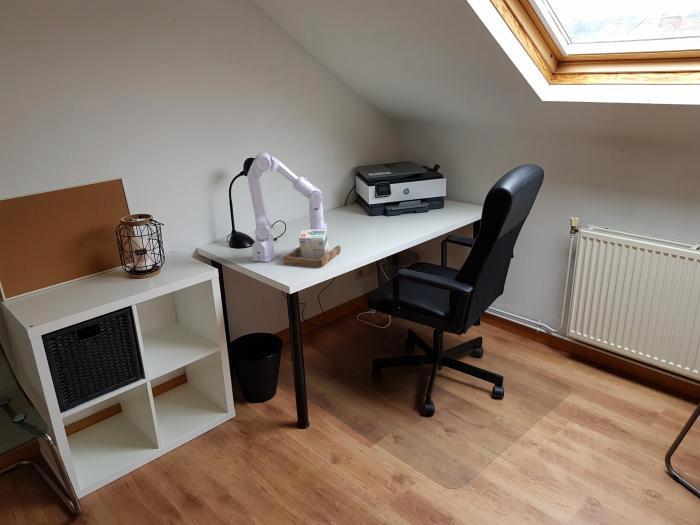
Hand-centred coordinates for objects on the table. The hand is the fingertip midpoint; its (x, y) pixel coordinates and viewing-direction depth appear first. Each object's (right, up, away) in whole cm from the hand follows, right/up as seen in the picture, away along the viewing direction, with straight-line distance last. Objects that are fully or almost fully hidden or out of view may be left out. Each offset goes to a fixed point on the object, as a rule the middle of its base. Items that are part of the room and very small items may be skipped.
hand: (318, 248), depth 248 cm
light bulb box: (-1, -3, -3) cm, 4 cm away
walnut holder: (-2, -4, -4) cm, 7 cm away
